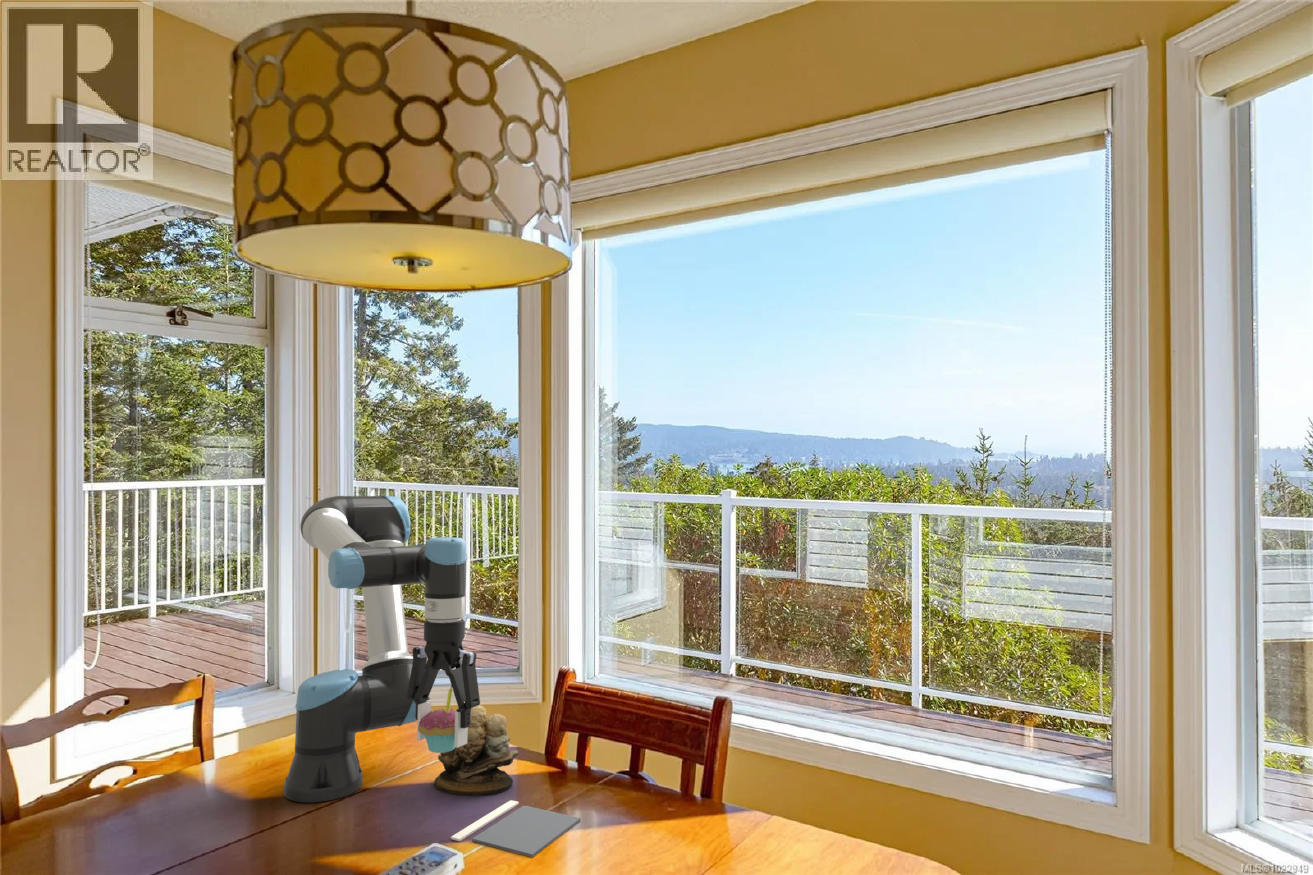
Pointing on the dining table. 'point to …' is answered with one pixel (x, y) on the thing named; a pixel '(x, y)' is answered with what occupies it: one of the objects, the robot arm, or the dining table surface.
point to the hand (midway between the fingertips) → (442, 741)
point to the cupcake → (439, 728)
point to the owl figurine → (478, 758)
